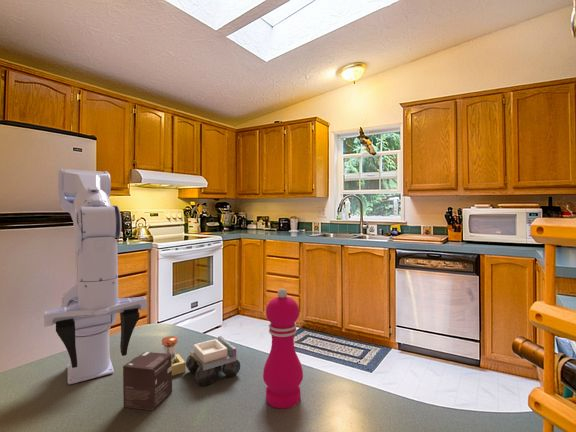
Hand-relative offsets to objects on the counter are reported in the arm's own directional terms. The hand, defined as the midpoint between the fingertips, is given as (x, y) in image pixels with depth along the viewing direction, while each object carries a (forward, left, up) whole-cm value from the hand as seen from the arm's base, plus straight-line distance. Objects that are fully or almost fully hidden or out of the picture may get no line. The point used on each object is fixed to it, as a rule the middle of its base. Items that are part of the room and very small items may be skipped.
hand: (100, 359), depth 53 cm
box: (0, +8, -10) cm, 12 cm away
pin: (-8, +14, -9) cm, 19 cm away
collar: (-8, +14, -9) cm, 19 cm away
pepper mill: (+14, +28, -10) cm, 32 cm away
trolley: (-2, +21, -9) cm, 23 cm away
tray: (-2, +20, -5) cm, 21 cm away
